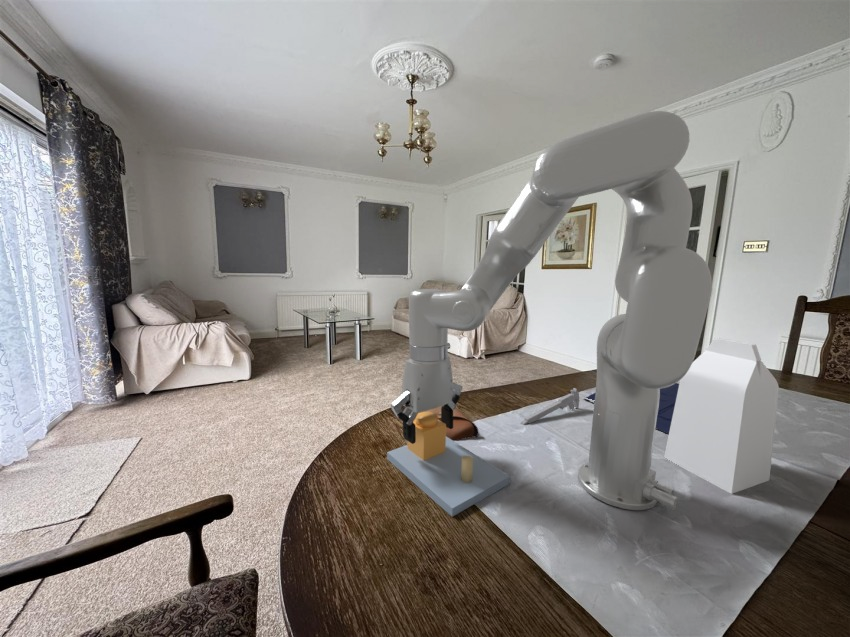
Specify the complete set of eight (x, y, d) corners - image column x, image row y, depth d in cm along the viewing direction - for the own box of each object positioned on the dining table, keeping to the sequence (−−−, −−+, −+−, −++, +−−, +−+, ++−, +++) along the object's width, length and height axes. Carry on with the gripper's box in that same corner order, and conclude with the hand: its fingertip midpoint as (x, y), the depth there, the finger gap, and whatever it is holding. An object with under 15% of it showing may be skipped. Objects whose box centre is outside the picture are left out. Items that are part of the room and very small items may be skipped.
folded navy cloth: (731, 407, 95) (732, 395, 94) (670, 445, 81) (670, 431, 81) (641, 380, 116) (642, 370, 115) (581, 407, 103) (581, 395, 102)
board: (509, 483, 63) (511, 456, 62) (452, 516, 54) (452, 485, 53) (439, 438, 78) (440, 416, 77) (387, 459, 70) (387, 433, 69)
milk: (663, 457, 72) (680, 336, 67) (699, 448, 76) (717, 333, 71) (731, 493, 61) (756, 351, 56) (769, 480, 65) (794, 346, 60)
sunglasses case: (416, 411, 92) (428, 389, 93) (436, 419, 95) (447, 398, 96) (446, 443, 76) (460, 416, 77) (469, 452, 79) (483, 426, 80)
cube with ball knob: (445, 451, 70) (446, 417, 69) (423, 460, 67) (424, 425, 66) (428, 440, 75) (429, 408, 73) (407, 448, 71) (407, 414, 70)
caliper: (575, 408, 96) (576, 386, 95) (578, 409, 95) (580, 388, 94) (520, 424, 86) (522, 400, 85) (523, 426, 85) (525, 402, 84)
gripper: (449, 342, 75) (449, 415, 78) (380, 355, 65) (383, 439, 68) (473, 348, 69) (472, 427, 72) (402, 364, 59) (404, 455, 62)
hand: (429, 433), depth 70 cm, fingers open, 9 cm apart
